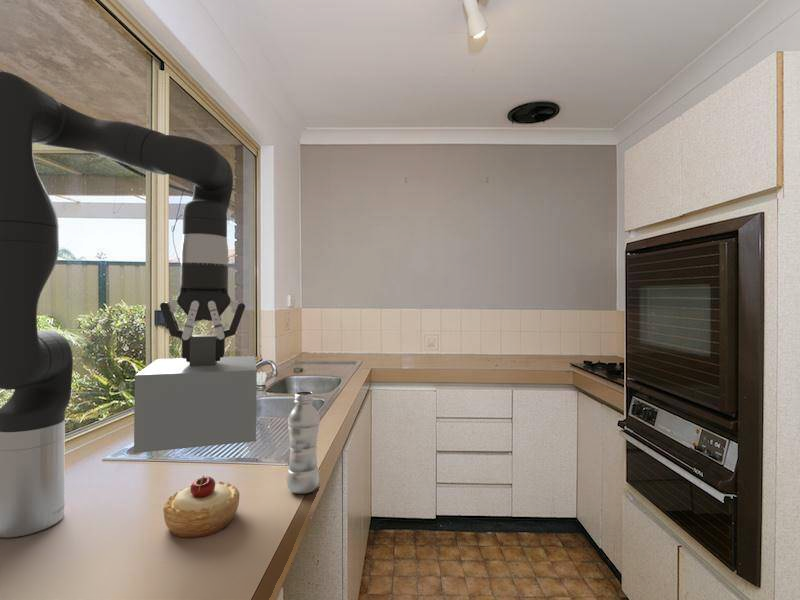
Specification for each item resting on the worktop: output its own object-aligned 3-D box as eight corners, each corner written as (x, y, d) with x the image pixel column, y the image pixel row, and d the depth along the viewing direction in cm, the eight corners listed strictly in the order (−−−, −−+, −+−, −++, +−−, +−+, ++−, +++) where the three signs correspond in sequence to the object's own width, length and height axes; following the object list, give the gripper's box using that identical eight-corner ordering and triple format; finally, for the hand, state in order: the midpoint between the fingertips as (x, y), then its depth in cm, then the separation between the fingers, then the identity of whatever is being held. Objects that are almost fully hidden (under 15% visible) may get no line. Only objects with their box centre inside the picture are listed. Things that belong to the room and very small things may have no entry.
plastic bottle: (305, 480, 92) (306, 388, 92) (325, 490, 87) (326, 393, 87) (279, 491, 87) (280, 393, 87) (300, 501, 82) (301, 398, 82)
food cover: (133, 453, 63) (135, 341, 63) (156, 420, 80) (157, 332, 79) (255, 441, 69) (257, 339, 69) (254, 413, 85) (255, 330, 85)
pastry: (235, 504, 82) (237, 457, 83) (241, 534, 72) (243, 480, 72) (164, 515, 77) (167, 465, 77) (159, 549, 66) (162, 491, 67)
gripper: (154, 259, 68) (153, 366, 68) (248, 262, 73) (247, 362, 73) (162, 262, 75) (161, 359, 75) (248, 265, 80) (247, 356, 80)
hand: (203, 360), depth 74 cm, fingers closed on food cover, 4 cm apart
